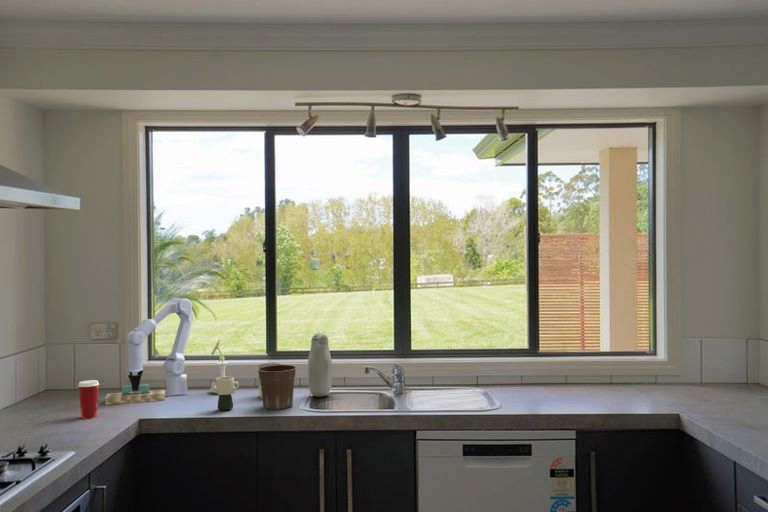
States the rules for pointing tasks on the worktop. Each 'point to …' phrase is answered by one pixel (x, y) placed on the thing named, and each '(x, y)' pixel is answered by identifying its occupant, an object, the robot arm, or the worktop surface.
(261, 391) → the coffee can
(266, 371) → the plant pot
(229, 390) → the character mug
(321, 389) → the white tall rounded figure
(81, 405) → the paper cup
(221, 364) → the flower in vase
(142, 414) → the worktop surface
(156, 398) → the tan segmented bar
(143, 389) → the staple
